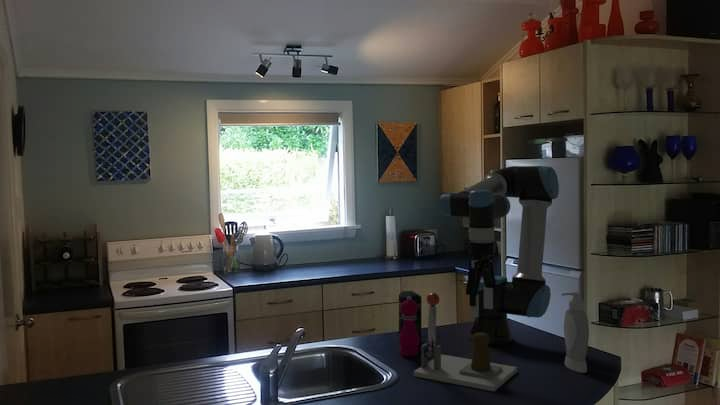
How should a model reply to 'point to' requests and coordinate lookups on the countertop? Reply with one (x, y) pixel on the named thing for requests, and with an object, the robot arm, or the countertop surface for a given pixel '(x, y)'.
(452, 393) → the countertop surface
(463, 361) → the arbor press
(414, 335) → the pepper mill
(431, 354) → the press lever
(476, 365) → the cork
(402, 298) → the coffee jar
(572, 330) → the soap bottle
